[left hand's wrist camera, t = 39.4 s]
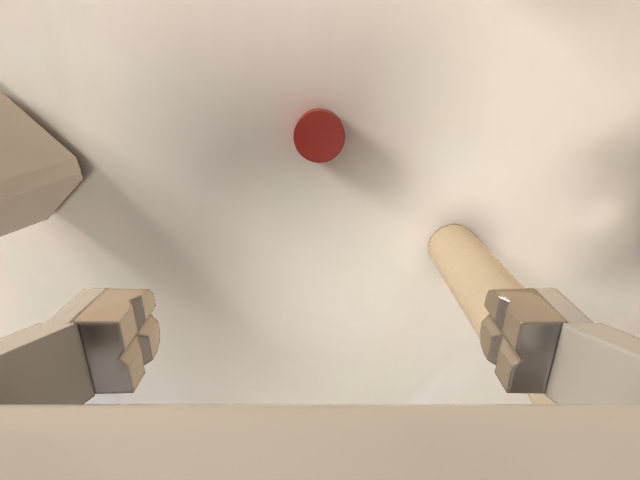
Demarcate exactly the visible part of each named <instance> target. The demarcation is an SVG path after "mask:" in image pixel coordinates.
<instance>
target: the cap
mask: <svg viewBox="0 0 640 480" xmlns="http://www.w3.org/2000/svg"><path fill="white" fill-rule="evenodd" d="M344 139H345V134H344V129H343V126H342V124H341V122H340V120H339V118H338V117H337V116H336V115H335V114H334V113H332V112H330V111H328V110H326V109H313V110H310V111H308V112H306V113H305V114H304V115H303V116H302V117H301V118H300V119H299V121H298V123H297V125H296V127H295V130H294V143H295V146H296V148H297V150H298V152H299V153H300V154H301V155H302V156H303V157H304V158H306V159H307V160H309V161H312V162H318V163H321V162H326V161H329V160H331V159H333V158H334V157H336V156H337V155H338V154H339V152H340V151H341V149H342V147H343V144H344Z"/></svg>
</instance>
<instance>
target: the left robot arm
mask: <svg viewBox="0 0 640 480" xmlns="http://www.w3.org/2000/svg"><path fill="white" fill-rule="evenodd" d="M155 306H156V304H155V300H154V295H153V293H152V292H151V290H150V289H108V288H90V289H83V290H82V291H81V292H80V293H79V294H78V295H77V296H75V297H74V298H73V299H72V300H71V301H70V302H69V303H68V304H67V305H65V306H64V307H63V308H62V309H61V310H60V311H59V312H58V313H57V314H55V315H54V316H53V317H52V318H51V319H50V320H49V321H48V322H47V323H38V324H36V325H33V326H31V327H28V328H26V329H23V330H20V331H18V332H15V333H13V334H10V335H8V336H5V337H3V338H0V480H640V338H637V337H635V336H632V335H630V334H627V333H625V332H622V331H619V330H617V329H614V328H612V327H609V326H607V325H604V324H602V323H593V322H592V321H591V320H590V319H589V318H588V317H587V316H586V315H585V314H583V313H582V312H581V311H580V310H579V309H578V308H577V307H576V306H575V305H574V304H572V303H571V302H570V301H569V300H568V299H567V298H566V297H565V296H564V295H562V294H561V293H560V292H559V291H558V290H557V289H553V288H538V289H534V288H526V289H493V290H489V291H488V293H487V295H486V299H485V304H484V306H485V308H486V309H487V311H488V312H489V315H488V316H487V317H486V318H485V319H484V320H483V321H482V322H481V330H480V340H481V347H482V350H483V353H484V355H485V357H486V358H487V360H488V361H490V362H492V363H493V364H495V365H496V368H495V374H496V376H497V377H498V379H499V381H500V382H501V384H502V386H503V387H504V389H505V391H506V392H507V393H535V394H545V396H547V397H548V398H549V399H551V400H552V401H553V402H555V403H556V404H557V405H83V404H84V403H85V402H87V401H88V400H90V399H91V398H92V397H94V396H95V394H105V393H134V391H135V389H136V387H137V386H138V384H139V382H140V381H141V379H142V377H143V376H144V374H145V368H144V365H145V364H147V363H148V362H150V361H152V360H153V358H154V357H155V355H156V353H157V350H158V346H159V341H160V329H159V322H158V321H157V320H156V319H155V318H154V317H153V316H152V315H151V312H152V311H153V309H154V308H155Z"/></svg>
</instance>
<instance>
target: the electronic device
mask: <svg viewBox="0 0 640 480" xmlns="http://www.w3.org/2000/svg"><path fill="white" fill-rule="evenodd" d="M82 179H83V177H82V173H81V169H80V166H79V164H78V161H77V158H76V157H75V156H74V155H73V154H72V153H71V152H70V151H68V150H67V149H66V148H65V147H64V146H63V145H62V144H60V143H59V142H58V141H57V140H56V139H55V138H54V137H52V136H51V135H50V134H49V133H48V132H47V131H46V130H44V129H43V128H42V127H41V126H40V125H39V124H38V123H36V122H35V121H34V120H33V119H32V118H31V117H30V116H28V115H27V114H26V113H25V112H24V111H23V110H22V109H20V108H19V107H18V106H17V105H16V104H15V103H14V102H12V101H11V100H10V99H9V98H8V97H7V96H6V95H5V94H3V93H2V92H1V91H0V236H3V235H6V234H9V233H11V232H14V231H17V230H19V229H22V228H25V227H27V226H30V225H33V224H36V223H38V222H41V221H44V220H46V219H48V218H49V217H50V216H51V214H52V213H53V212H54V211H55V210H56V209H57V208H58V207H59V205H60V204H61V203H62V202H63V201H64V200H65V199H66V198H67V196H68V195H69V194H70V193H71V192H72V191H73V190H74V189H75V187H76V186H77V185H78V184H79V183H80V182H81V181H82Z"/></svg>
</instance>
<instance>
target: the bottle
mask: <svg viewBox="0 0 640 480" xmlns="http://www.w3.org/2000/svg"><path fill="white" fill-rule="evenodd" d="M428 251H429V255H430V257H431V259H432V261H433V262H434V264H435V266H436V267H437V269H438V271H439V272H440V274H441V276H442V277H443V279H444V281H445V282H446V284H447V286H448V287H449V289H450V291H451V292H452V294H453V296H454V297H455V299H456V301H457V302H458V304H459V306H460V307H461V309H462V311H463V312H464V314H465V316H466V317H467V319H468V321H469V322H470V324H471V326H472V327H473V329H474V331H475V333H476V334H477V336H478V338H479V339H480V330H481V322H482V321H483V320H484V319H485V318H486V317H487V316H488V315H489V312H488V311H487V309H486V308H485V306H484V304H485V299H486V295H487V293H488V291H489V290H493V289H525V288H524V287H523V286H522V285H521V284H520V283H519V282H518V281H517V280H516V278H515V277H514V276H513V275H512V274H511V273H510V272H509V271H508V270H507V269H506V268H505V267H504V266H503V265H502V264H501V263H500V262H499V261H498V260H497V258H496V257H495V256H494V255H493V254H492V253H491V252H490V251H489V250H488V249H487V248H486V247H485V246H484V245H483V244H482V243H481V242H480V241H479V240H478V238H477V237H476V236H475V235H474V234H473V233H472V232H471V231H470V230H469V229H468V228H466V227H464V226H461V225H448V226H445V227H442V228H441V229H439V230H438V231H437V232H435V234H434V235H433V236H432V238H431V239H430V242H429V246H428ZM480 341H481V340H480ZM528 396H529V399H530V400H531V401H532V403H533V404H534V405H557V404H556V403H555V402H553V401H552V400H551V399H549V398H548V397H547V396H545V394H535V393H528Z"/></svg>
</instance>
